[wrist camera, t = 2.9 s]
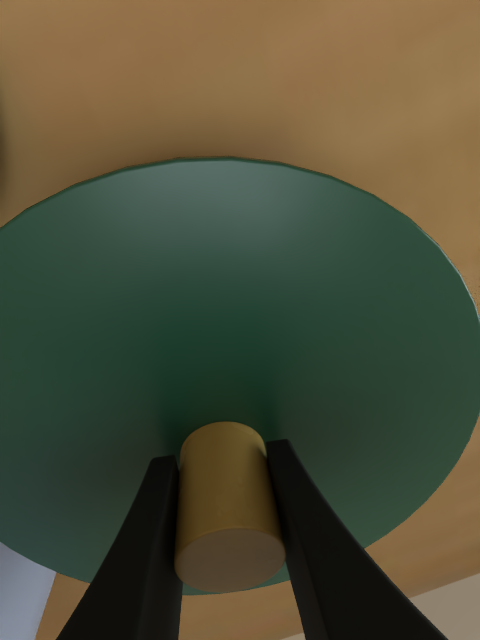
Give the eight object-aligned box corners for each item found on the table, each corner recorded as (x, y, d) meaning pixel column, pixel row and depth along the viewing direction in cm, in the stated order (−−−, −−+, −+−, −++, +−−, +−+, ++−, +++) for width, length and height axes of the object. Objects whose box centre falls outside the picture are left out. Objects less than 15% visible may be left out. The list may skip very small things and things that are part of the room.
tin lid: (54, 591, 15) (5, 743, 12) (-203, 195, 8) (-613, 255, 4) (420, 532, 16) (489, 656, 12) (525, 120, 8) (800, 108, 5)
